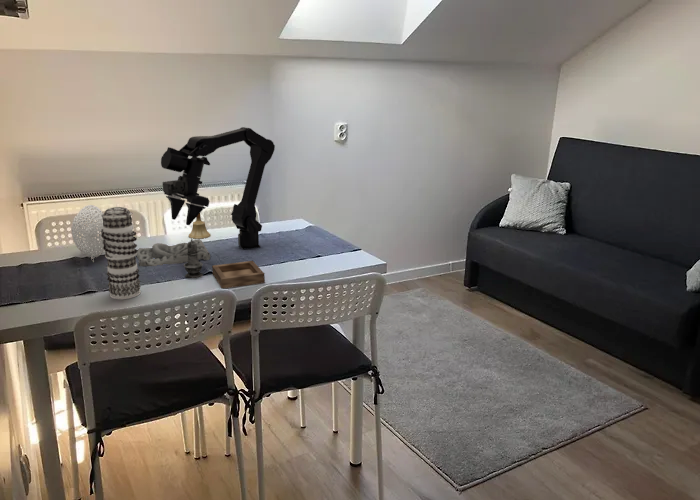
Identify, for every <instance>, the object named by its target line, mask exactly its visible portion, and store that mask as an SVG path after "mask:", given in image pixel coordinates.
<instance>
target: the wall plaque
mask: <svg viewBox="0 0 700 500" xmlns="http://www.w3.org/2000/svg"><path fill="white" fill-rule="evenodd" d="M192 241H194V242H196V244H197V252H198V261H199V260H204V261H209V260H210V259H211V253H210V252H209V251H208V249H207V247H206V246H205V244H204V242H203V239H192ZM187 244H188V242H181V243H177V244H172V245H167V244H166V243H160V242H159V243H158V242H157V243H154V244H153V245H152V248H150V247H139V248H138V249H136V250H137V255H136V256H137V257H136V256H135V257H136V259H138V262H137V264H138V266H139V267H157V265H160V266H164V265H163V264H168V265H175V264H176V265H178V264H185V263H187V262H188V255H187V252H188V249H187ZM153 258H155V259H153Z"/></svg>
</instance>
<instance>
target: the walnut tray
mask: <svg viewBox="0 0 700 500" xmlns="http://www.w3.org/2000/svg"><path fill="white" fill-rule="evenodd" d="M211 266H212V267H211V268H212V270H211V271H212V276H213V278H214V279H215V281H216V282H217V283H218V284H219V287H220V288H221V289H222V288H223V289H229V288H230V289H231V288H235V287H243V286H253V285H260V284H265V283H266V282H265V273H264V271H262V269H261V268H260V267H259V266H258V265H257V264H256V263H255V262H254V260H247V261H239V262H233V263H232V262H231V263H223V264H215V265H211Z"/></svg>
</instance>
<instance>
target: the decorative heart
mask: <svg viewBox="0 0 700 500" xmlns="http://www.w3.org/2000/svg"><path fill="white" fill-rule="evenodd" d="M102 214H104V212H103V211H102V210H101V208H100V207H98V206H96V205H93V204H87V205H85V206H83V207H82V208H81V209H80V210H79V211H78V213H77V214H76V215H75V216H74V217H73V219H72V223H71V227H70V229H71V236H72V240H73V242H74V244H75V247H77V249H78V250H79V251H80V253H82V254H83V255H84V256H86V257H88V258H90V257H91V258H90V259H91V260H92V259H93V260H92V263H94V262H95V260H94V259H96V258H98V257H99V256H100V255H101V254H102V253H103V252H104V251H105V249H103V247H104V244H103V240H104V239H103V237H101V235H102V232H101V231H102V230H101V229H103V218H102V216H101V215H102ZM103 232H104V231H103ZM104 236H105V234H104ZM93 256H94V257H93ZM95 257H96V258H95Z"/></svg>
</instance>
